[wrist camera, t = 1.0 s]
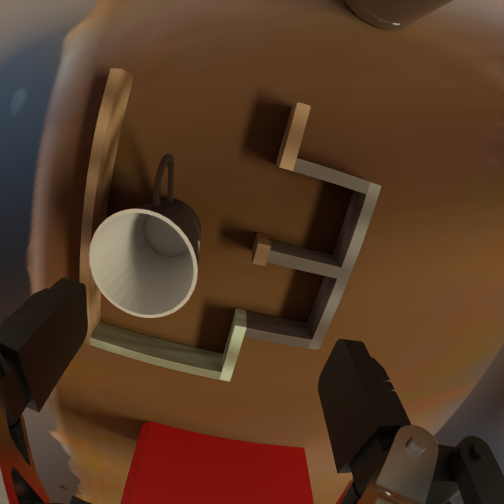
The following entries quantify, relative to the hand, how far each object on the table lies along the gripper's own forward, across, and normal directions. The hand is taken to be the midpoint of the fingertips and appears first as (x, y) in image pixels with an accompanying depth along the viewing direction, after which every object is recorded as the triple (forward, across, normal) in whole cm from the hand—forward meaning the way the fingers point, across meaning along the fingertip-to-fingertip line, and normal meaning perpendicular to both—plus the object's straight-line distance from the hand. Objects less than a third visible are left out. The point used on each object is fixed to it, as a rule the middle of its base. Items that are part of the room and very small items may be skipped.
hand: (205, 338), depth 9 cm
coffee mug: (+22, +5, +3) cm, 23 cm away
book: (+22, -6, +41) cm, 47 cm away
